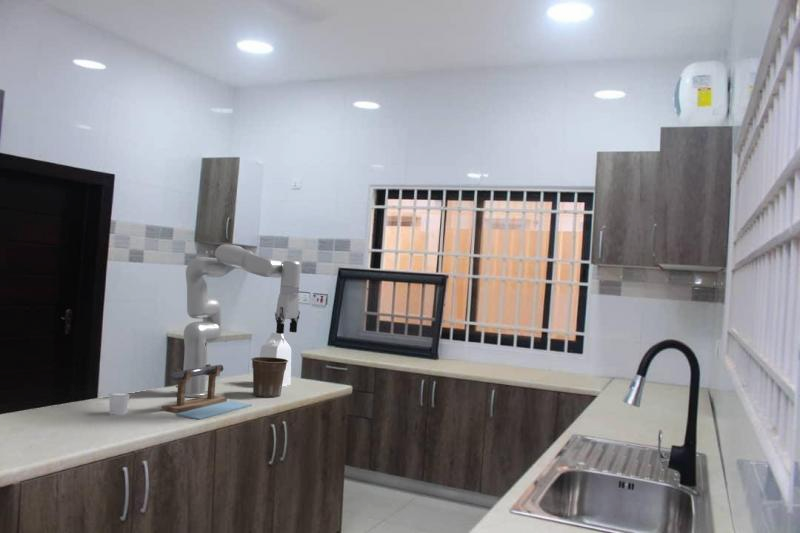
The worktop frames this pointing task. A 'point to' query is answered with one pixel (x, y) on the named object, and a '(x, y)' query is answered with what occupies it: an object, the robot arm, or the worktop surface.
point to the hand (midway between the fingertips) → (286, 332)
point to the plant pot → (268, 376)
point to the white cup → (118, 403)
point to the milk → (278, 353)
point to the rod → (195, 372)
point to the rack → (197, 402)
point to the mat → (213, 410)
